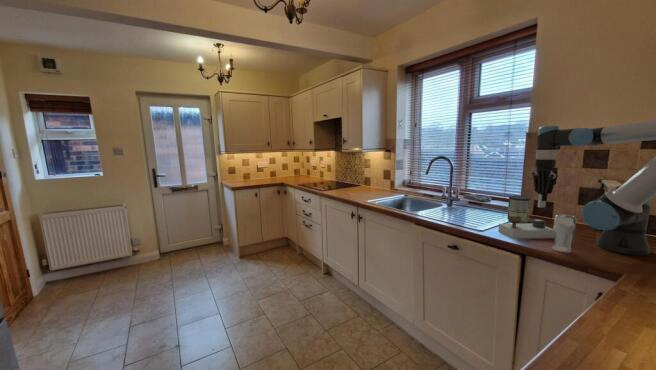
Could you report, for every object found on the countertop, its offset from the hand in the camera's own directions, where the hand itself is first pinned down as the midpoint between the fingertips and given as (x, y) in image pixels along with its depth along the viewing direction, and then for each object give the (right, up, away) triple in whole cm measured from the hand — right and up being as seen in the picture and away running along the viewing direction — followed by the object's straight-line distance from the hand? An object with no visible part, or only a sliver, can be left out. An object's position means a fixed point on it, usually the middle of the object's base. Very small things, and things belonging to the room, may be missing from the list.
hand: (541, 207), depth 130 cm
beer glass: (-5, -17, -17) cm, 25 cm away
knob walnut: (-12, -10, +2) cm, 16 cm away
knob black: (0, -13, +2) cm, 13 cm away
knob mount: (-6, -14, +3) cm, 15 cm away
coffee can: (+8, -10, +27) cm, 30 cm away
